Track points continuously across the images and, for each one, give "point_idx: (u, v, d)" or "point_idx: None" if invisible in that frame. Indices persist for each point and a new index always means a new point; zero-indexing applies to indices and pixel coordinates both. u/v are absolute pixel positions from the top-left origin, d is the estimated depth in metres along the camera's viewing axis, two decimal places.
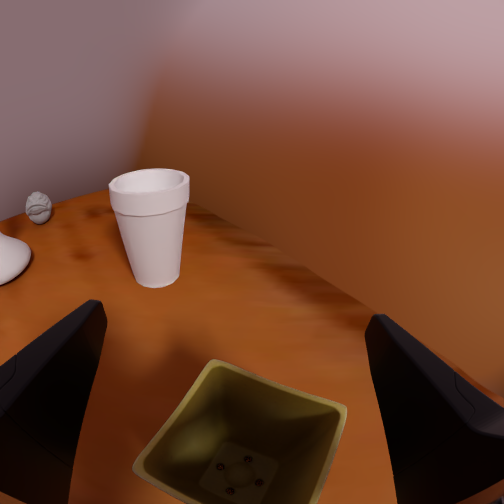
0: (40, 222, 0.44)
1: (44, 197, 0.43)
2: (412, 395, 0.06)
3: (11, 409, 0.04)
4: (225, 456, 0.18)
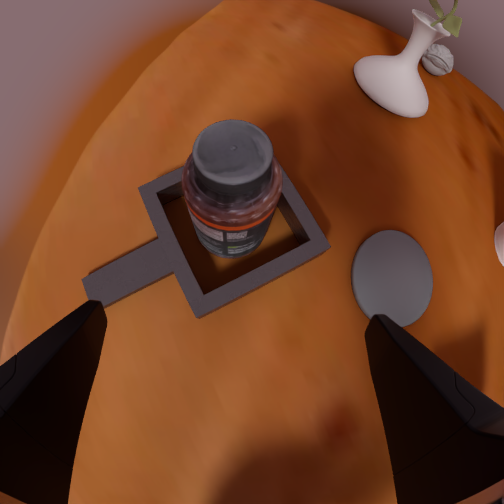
0: (430, 72, 0.34)
1: (452, 60, 0.29)
2: (412, 395, 0.06)
3: (11, 409, 0.04)
4: None
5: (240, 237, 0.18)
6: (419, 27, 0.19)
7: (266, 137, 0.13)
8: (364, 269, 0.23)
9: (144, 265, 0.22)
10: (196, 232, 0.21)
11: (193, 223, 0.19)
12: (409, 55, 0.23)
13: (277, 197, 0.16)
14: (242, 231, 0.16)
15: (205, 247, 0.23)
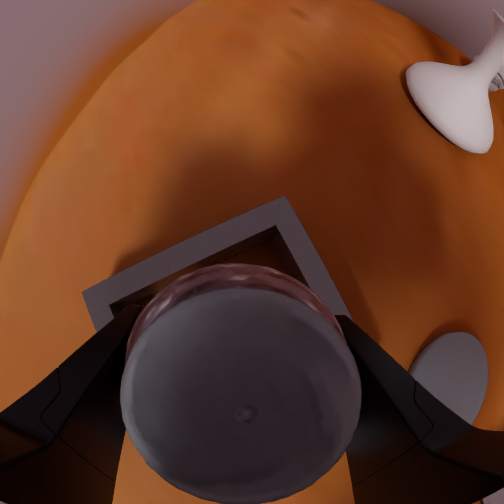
0: None
1: None
2: (366, 404, 0.06)
3: (60, 430, 0.04)
4: None
5: None
6: (503, 35, 0.09)
7: (348, 362, 0.04)
8: None
9: None
10: None
11: None
12: (484, 70, 0.13)
13: None
14: None
15: None
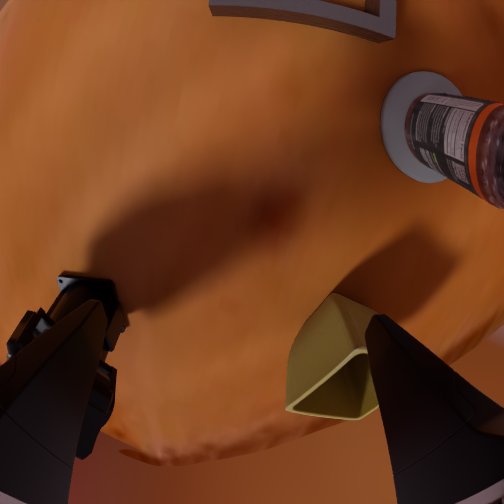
0: None
1: None
2: (412, 395, 0.06)
3: (10, 409, 0.04)
4: None
5: (457, 174, 0.12)
6: None
7: None
8: (410, 89, 0.15)
9: None
10: (426, 107, 0.14)
11: (443, 110, 0.12)
12: None
13: None
14: (469, 182, 0.11)
15: (409, 115, 0.15)
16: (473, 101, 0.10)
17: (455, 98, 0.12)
